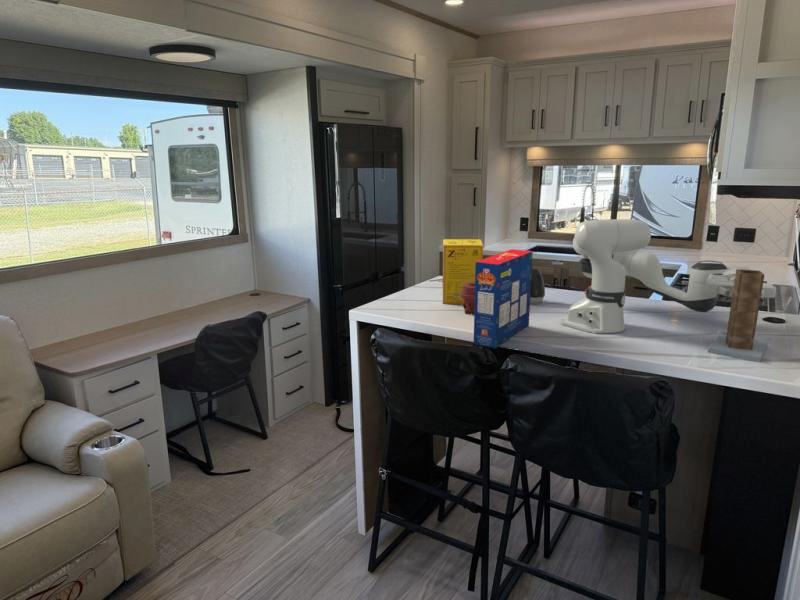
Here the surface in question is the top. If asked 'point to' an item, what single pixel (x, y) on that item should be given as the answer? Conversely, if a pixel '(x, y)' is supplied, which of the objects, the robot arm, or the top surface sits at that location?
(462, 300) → the packaging box
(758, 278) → the walnut sleeve
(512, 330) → the blue food box
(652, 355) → the top surface
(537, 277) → the dark gray domed cylinder
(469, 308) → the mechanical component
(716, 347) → the base plate
